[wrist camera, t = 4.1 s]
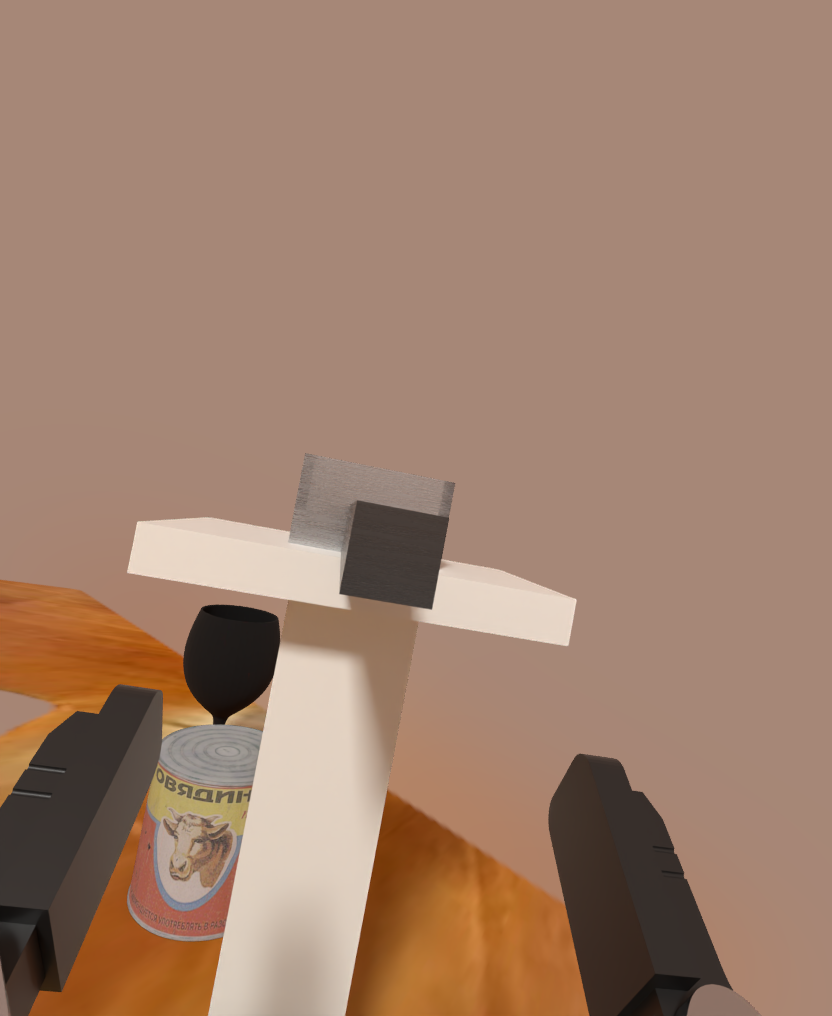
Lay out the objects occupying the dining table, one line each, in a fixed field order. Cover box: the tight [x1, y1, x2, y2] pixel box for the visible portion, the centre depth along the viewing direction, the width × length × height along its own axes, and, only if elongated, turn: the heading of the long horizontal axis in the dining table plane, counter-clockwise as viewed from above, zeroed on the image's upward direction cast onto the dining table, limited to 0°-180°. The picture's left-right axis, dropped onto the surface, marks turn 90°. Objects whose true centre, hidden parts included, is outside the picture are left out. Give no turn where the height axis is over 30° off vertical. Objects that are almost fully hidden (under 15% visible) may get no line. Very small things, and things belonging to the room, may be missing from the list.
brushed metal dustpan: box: [288, 454, 455, 610], centre depth 23 cm, size 20×7×4 cm, turn 7°
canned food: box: [127, 725, 263, 941], centre depth 49 cm, size 11×11×12 cm
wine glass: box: [183, 605, 280, 725], centre depth 66 cm, size 10×10×20 cm
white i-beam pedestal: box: [127, 517, 576, 1016], centre depth 29 cm, size 12×18×32 cm, turn 97°
